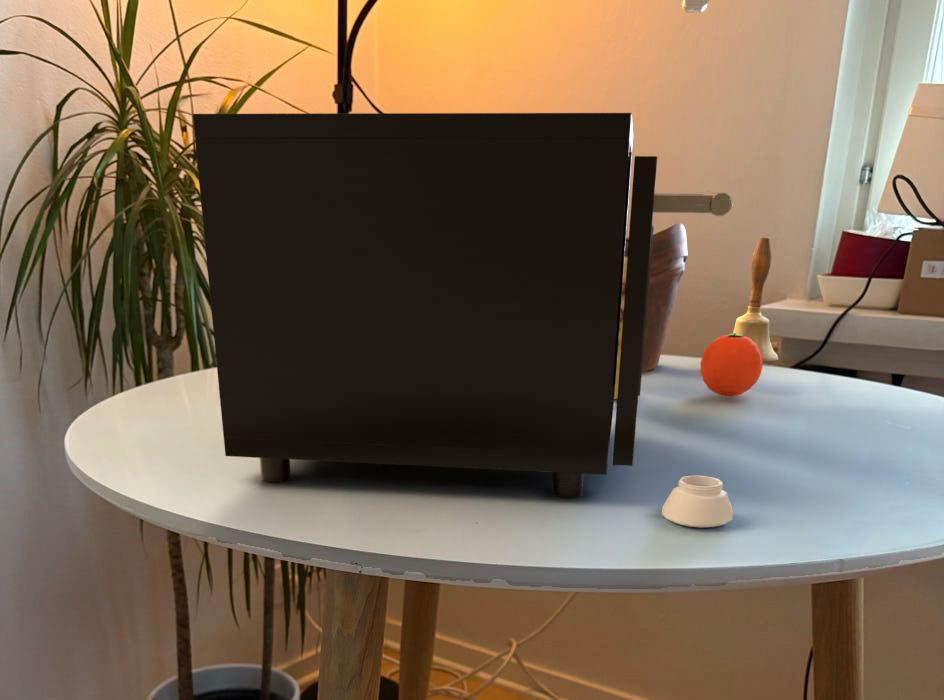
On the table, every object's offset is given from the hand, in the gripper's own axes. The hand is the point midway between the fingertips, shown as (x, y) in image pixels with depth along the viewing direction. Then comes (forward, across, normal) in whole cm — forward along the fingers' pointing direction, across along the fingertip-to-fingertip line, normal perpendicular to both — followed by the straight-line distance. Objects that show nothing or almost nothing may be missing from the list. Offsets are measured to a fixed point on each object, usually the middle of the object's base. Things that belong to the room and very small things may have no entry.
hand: (695, 9), depth 73 cm
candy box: (+34, +30, +7) cm, 46 cm away
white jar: (+34, -17, -3) cm, 38 cm away
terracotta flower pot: (+34, +49, +6) cm, 60 cm away
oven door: (+31, 0, 0) cm, 31 cm away
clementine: (+34, +32, -9) cm, 48 cm away
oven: (+34, 0, +19) cm, 39 cm away
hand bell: (+34, +60, -14) cm, 71 cm away
